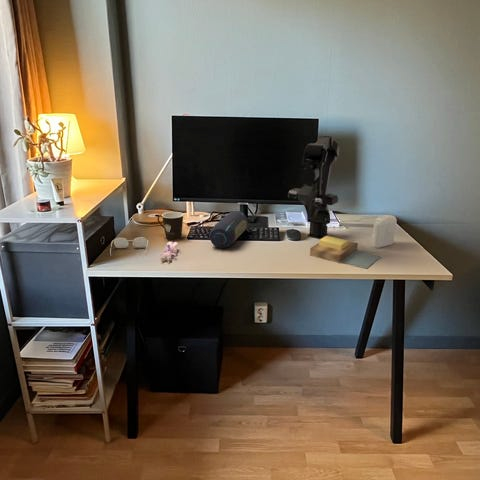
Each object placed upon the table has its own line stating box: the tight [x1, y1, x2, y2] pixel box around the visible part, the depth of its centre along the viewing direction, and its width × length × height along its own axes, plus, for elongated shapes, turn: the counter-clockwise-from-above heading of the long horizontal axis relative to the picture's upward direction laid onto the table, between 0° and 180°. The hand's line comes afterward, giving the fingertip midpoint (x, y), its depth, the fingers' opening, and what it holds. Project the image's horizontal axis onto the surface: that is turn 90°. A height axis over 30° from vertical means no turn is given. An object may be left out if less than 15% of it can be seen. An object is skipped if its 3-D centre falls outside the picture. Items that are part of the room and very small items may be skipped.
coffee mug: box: [157, 211, 184, 242], centre depth 192 cm, size 12×9×10 cm
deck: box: [309, 240, 359, 264], centre depth 178 cm, size 12×16×3 cm
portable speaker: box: [209, 210, 249, 249], centre depth 189 cm, size 25×10×10 cm, turn 162°
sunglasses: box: [109, 236, 149, 256], centre depth 177 cm, size 14×8×5 cm, turn 94°
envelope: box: [334, 213, 380, 228], centre depth 213 cm, size 24×2×14 cm
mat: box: [340, 249, 382, 270], centre depth 172 cm, size 10×14×1 cm
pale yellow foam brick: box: [318, 235, 349, 250], centre depth 177 cm, size 9×6×2 cm, turn 54°
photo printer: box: [371, 214, 398, 249], centre depth 184 cm, size 10×4×12 cm, turn 123°
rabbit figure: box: [159, 241, 179, 264], centre depth 173 cm, size 6×6×15 cm
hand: (311, 217), depth 180 cm, fingers closed
